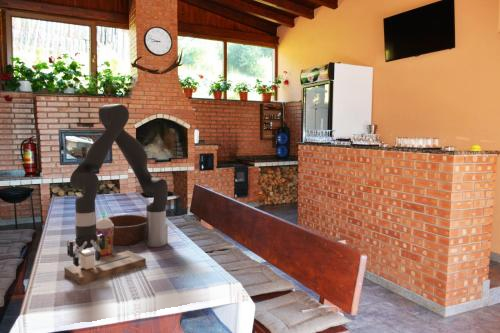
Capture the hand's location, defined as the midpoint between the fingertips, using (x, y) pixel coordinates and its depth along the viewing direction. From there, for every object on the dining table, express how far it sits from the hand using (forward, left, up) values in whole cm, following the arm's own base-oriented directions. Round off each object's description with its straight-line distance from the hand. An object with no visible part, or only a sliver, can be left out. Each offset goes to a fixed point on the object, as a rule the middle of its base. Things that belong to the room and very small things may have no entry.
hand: (87, 263), depth 153 cm
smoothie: (-16, -17, -5) cm, 24 cm away
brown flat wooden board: (-8, 0, -5) cm, 9 cm away
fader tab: (0, 0, -1) cm, 1 cm away
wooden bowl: (-34, -30, -5) cm, 46 cm away
